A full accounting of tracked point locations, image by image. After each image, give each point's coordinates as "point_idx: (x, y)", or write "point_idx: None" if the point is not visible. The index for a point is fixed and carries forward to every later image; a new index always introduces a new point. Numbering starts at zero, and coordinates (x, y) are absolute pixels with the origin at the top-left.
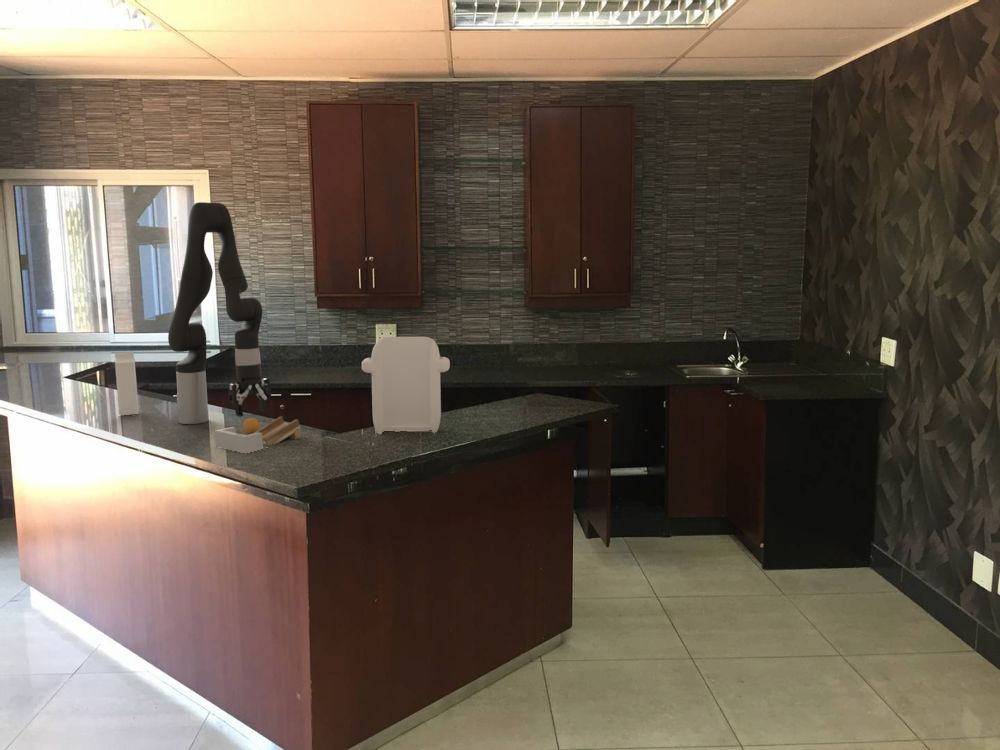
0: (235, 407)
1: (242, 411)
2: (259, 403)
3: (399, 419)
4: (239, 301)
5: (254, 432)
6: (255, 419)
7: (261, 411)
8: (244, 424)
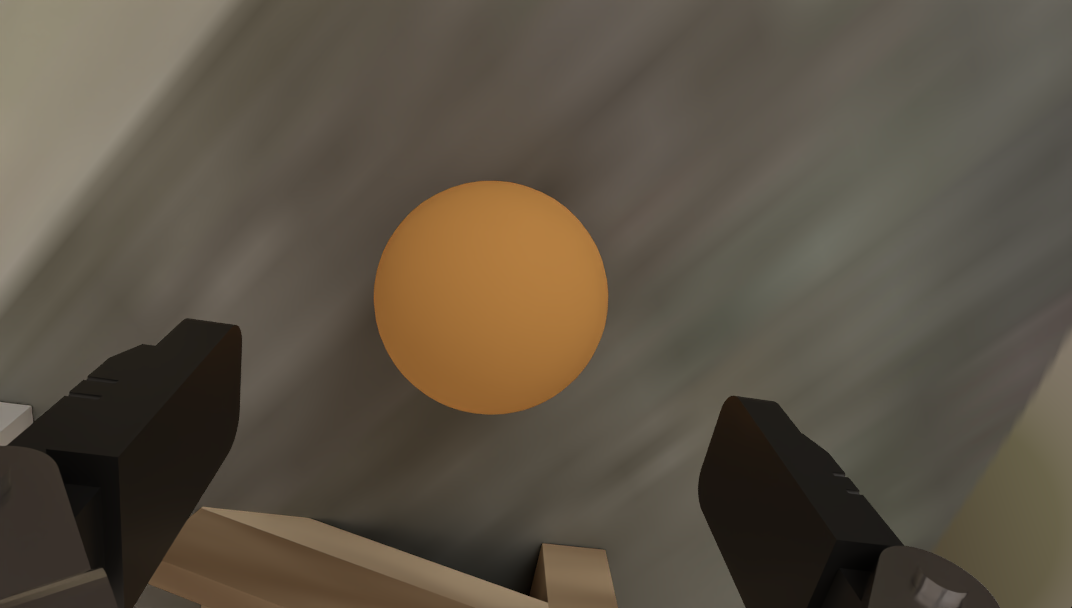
0: (25, 444)
1: (194, 496)
2: (792, 495)
3: None
4: None
5: (220, 584)
6: (525, 396)
7: (715, 437)
8: (379, 284)
